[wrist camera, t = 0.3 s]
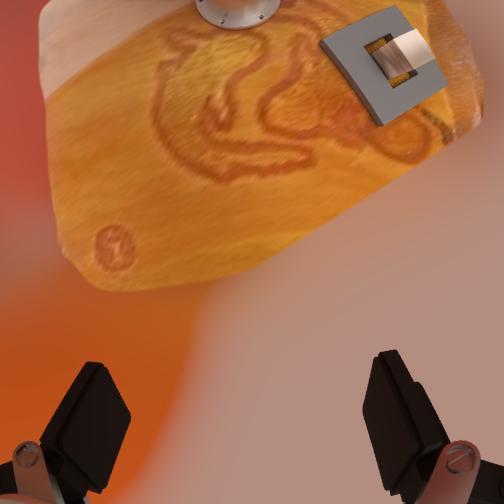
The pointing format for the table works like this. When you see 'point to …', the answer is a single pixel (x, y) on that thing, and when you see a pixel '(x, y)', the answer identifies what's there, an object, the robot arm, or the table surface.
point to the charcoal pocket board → (368, 73)
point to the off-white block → (402, 54)
